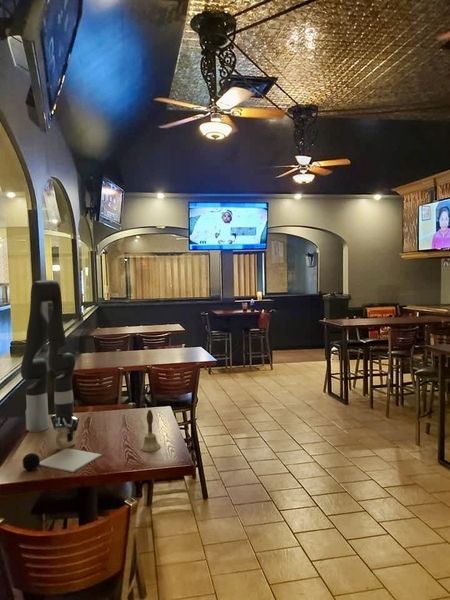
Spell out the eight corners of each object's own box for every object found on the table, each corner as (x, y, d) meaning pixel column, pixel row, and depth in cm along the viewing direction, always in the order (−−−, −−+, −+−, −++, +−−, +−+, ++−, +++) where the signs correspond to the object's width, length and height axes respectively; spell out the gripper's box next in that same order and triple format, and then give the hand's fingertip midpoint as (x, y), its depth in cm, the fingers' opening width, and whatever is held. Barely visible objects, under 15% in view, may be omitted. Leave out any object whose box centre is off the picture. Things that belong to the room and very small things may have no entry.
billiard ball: (21, 468, 174) (20, 453, 173) (38, 464, 177) (37, 449, 176) (24, 474, 168) (23, 458, 168) (41, 470, 172) (40, 454, 171)
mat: (36, 465, 176) (36, 463, 176) (66, 449, 191) (66, 448, 191) (73, 472, 169) (73, 470, 169) (101, 455, 184) (101, 454, 184)
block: (56, 448, 193) (55, 427, 192) (68, 442, 199) (67, 422, 198) (63, 449, 191) (62, 428, 190) (75, 443, 197) (74, 423, 197)
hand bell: (164, 445, 193) (162, 407, 192) (154, 452, 186) (153, 414, 184) (146, 443, 196) (145, 406, 195) (136, 450, 188) (135, 412, 187)
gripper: (44, 401, 193) (46, 441, 194) (70, 404, 187) (72, 446, 188) (57, 396, 200) (59, 435, 201) (83, 399, 194) (85, 439, 195)
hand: (65, 440), depth 195 cm, fingers closed on block, 4 cm apart
